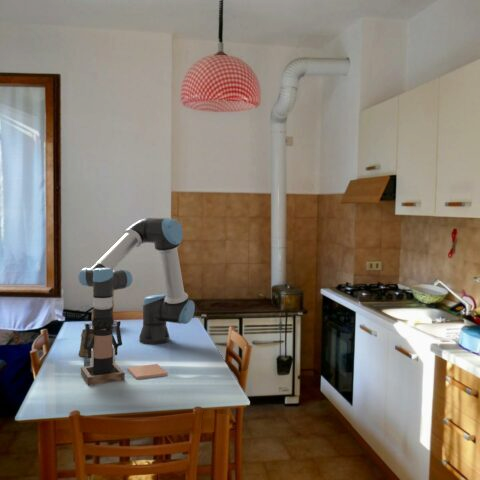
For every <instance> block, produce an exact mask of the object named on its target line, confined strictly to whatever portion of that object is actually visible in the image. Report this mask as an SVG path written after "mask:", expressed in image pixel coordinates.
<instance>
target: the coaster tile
mask: <svg viewBox="0 0 480 480" xmlns="http://www.w3.org/2000/svg"><path fill="white" fill-rule="evenodd" d="M126 369H127V372H129V373H130V375H132V377H134V379H135V380H142V379H149V378H157V377H163V376H168V375H169V374H168V371H166V370H165V369H164V368H163V367H161V365H159V364H158V363H155V364H146V365H145V364H144V365H139V366H138V365H137V366H130V367H129V366H128V367H127V368H126Z"/></svg>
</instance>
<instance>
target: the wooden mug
mask: <svg viewBox="0 0 480 480" xmlns="http://www.w3.org/2000/svg"><path fill="white" fill-rule="evenodd" d="M84 334H85V328H83V329H82V332H81V335H80V337H81V339H80V345H79V346H80V347H79V351H78V356H79V357H83V358H85V357H86V355H87V352H88V350H87V349H84V348H83V341H84ZM92 335H93V328H90V332H89V338H88V344H89V342H90V339H91V337H92ZM87 346H88V345H87ZM92 348H93V347H92Z"/></svg>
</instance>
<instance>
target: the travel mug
mask: <svg viewBox="0 0 480 480" xmlns="http://www.w3.org/2000/svg"><path fill="white" fill-rule="evenodd" d="M110 328H111V329H110V330H107V329H100V330H97V329H95V327H93V328H92V329H93V336H94V345H93V350H94V365H93V374H92V376H94V375H102V374H110V373H113V372H112V357H113V347H114V346H113V342H112V333H113V328H112V327H110Z"/></svg>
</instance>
